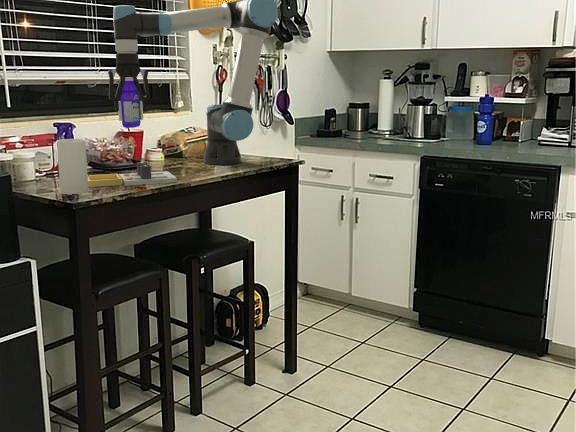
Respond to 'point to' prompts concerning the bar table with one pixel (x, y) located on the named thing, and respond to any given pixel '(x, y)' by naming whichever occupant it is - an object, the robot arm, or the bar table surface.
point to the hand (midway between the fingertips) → (131, 119)
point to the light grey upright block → (72, 166)
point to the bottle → (130, 104)
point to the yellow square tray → (104, 180)
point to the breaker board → (155, 178)
